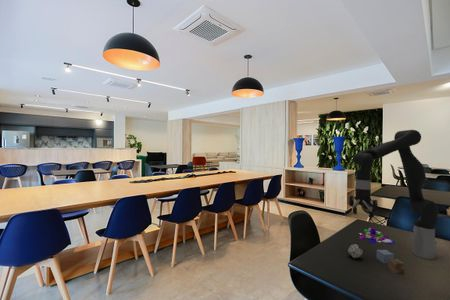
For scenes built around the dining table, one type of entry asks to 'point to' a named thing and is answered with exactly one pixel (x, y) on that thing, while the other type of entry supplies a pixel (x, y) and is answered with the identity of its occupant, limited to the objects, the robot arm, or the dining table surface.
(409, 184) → the robot arm
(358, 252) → the game die
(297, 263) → the dining table surface
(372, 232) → the building block set
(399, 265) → the walnut block
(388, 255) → the blue block
